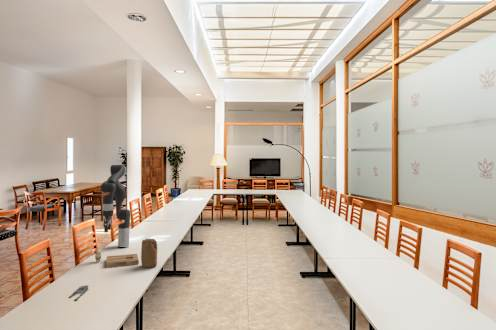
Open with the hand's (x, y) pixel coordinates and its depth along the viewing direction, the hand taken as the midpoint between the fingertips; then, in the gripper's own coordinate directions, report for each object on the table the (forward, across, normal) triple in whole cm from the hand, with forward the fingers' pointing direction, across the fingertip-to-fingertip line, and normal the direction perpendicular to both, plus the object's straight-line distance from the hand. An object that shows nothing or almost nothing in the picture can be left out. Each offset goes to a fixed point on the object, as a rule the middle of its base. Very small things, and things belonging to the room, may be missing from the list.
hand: (107, 230), depth 240 cm
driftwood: (+25, +56, -2) cm, 61 cm away
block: (+24, +13, +32) cm, 42 cm away
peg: (+24, -1, -7) cm, 25 cm away
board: (+24, +1, +11) cm, 26 cm away
